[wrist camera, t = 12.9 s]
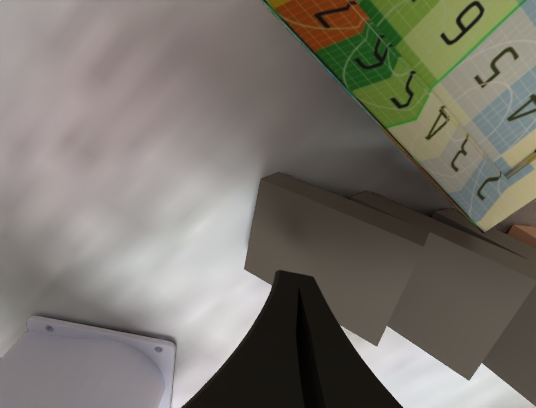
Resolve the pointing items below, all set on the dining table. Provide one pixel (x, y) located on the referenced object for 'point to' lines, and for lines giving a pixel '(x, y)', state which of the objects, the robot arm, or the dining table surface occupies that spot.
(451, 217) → the domino
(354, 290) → the domino
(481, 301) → the domino
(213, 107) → the dining table surface
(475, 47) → the puzzle game
